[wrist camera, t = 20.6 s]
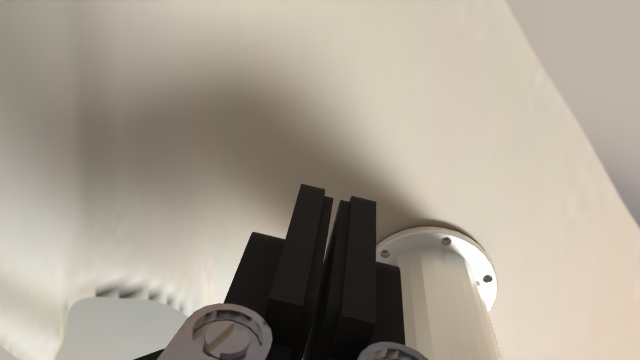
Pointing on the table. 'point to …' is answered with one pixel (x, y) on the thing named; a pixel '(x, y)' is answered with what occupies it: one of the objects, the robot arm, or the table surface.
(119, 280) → the table surface
